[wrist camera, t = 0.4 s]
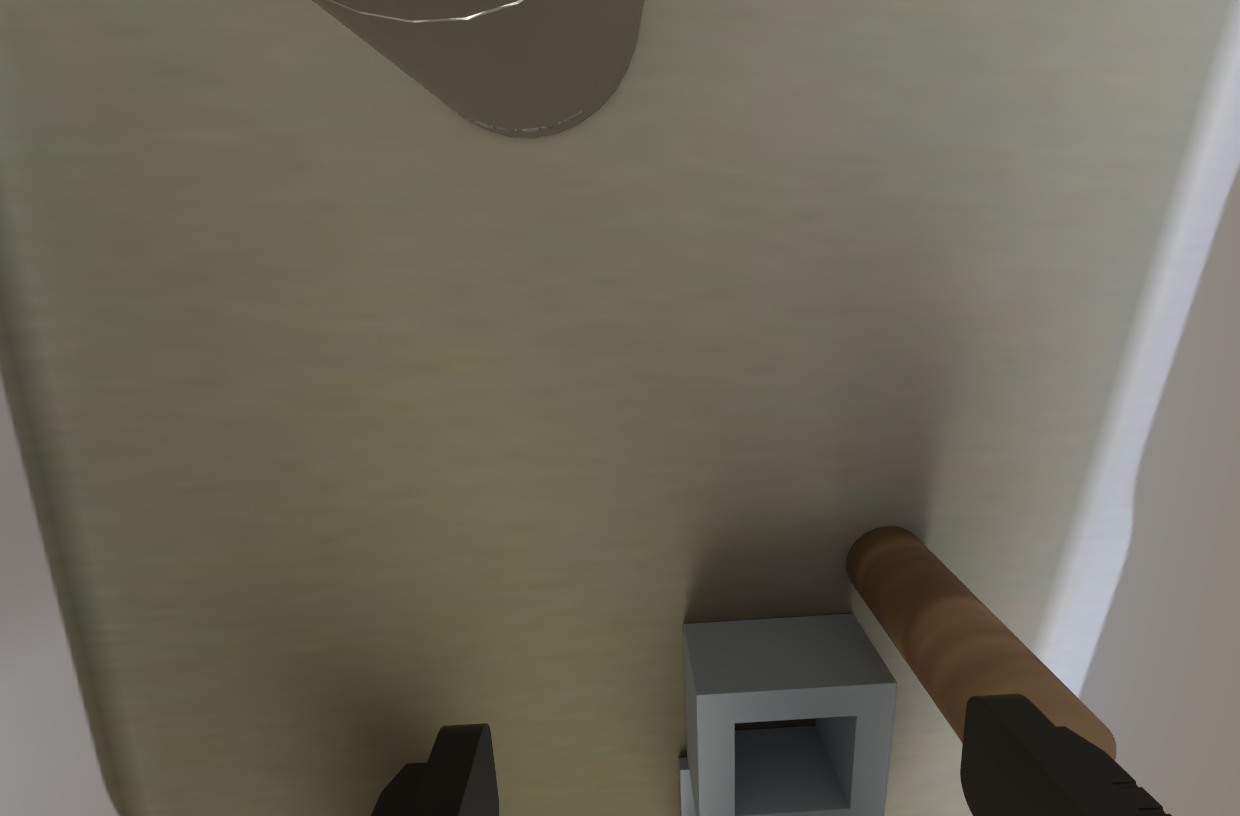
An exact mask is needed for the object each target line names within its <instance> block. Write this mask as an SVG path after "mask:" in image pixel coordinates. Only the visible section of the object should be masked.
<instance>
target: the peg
mask: <svg viewBox="0 0 1240 816" xmlns="http://www.w3.org/2000/svg"><path fill="white" fill-rule="evenodd" d="M846 570H847V574H848V577H849V579H850V581H851V582H852V584H853V585H854V587H855V588H856V590H857V591H858V592H859V594H860V595H861V597H862V598H863V600H864V601H865V603H866V604H867V605H868V607H869V608H870V610H871V611H872V613H873V614H874V616H875V617H876V619H877V620H878V621H879V623H880V624H881V626H882V627H883V629H884V630H885V632H886V633H887V634H888V636H889V637H890V639H891V640H892V642H893V643H894V645H895V646H896V647H897V649H898V650H899V652H900V653H901V655H902V656H903V658H904V659H905V660H906V662H907V663H908V665H909V666H910V668H911V669H912V671H913V672H914V674H915V675H916V676H917V678H918V679H919V681H920V682H921V684H922V685H923V687H924V688H925V689H926V691H927V692H928V694H929V695H930V697H931V698H932V700H933V701H934V702H935V704H936V705H937V707H938V708H939V710H940V711H941V713H942V714H943V715H944V717H945V718H946V720H947V721H948V723H949V724H950V726H951V727H952V729H953V730H954V731H955V733H956V734H957V736H958V737H959V739H960V740H961V742H962V743H963V736H964V724H965V713H966V705H967V702H968V700H969V698H971V697H972V696H983V695H999V694H1021V695H1024V696H1025V697H1027V698H1028V699H1029V700H1030V701H1031V702H1032V703H1033V704H1034V705H1035V706H1036V707H1037V708H1038V709H1039V710H1040V711H1041V712H1042V713H1043V714H1044V715H1045V716H1046V717H1047V718H1048V719H1049V720H1050V721H1051V722H1052V723H1053V724H1054V725H1055V726H1056V727H1060V726H1065V727H1067V728H1069V729H1070V730H1072V731H1073V732H1075V733H1077V734H1078V735H1080V736H1081V737H1083V738H1085V739H1086V740H1088V741H1089V742H1091V743H1093V744H1094V745H1096V746H1097V747H1099V748H1100V749H1102V750H1104V751H1105V752H1106V753H1107V754H1108V755H1109V756H1110V757H1111V758H1112V759H1113V760H1114V761H1115V758H1116V743H1115V739H1114V737H1113V735H1112V733H1111V732H1110V730H1109V729H1108V728H1107V727H1106V726H1105V725H1104V724H1103V723H1102V722H1101V721H1100V720H1099V719H1098V718H1097V717H1096V716H1095V715H1094V714H1093V713H1092V712H1091V711H1090V710H1089V709H1088V708H1087V707H1086V706H1085V705H1084V704H1083V703H1082V702H1081V701H1080V700H1079V699H1078V698H1077V697H1076V696H1075V695H1074V694H1073V693H1072V692H1071V691H1070V690H1069V689H1068V688H1067V687H1066V686H1065V685H1064V684H1063V683H1062V682H1061V681H1060V680H1059V679H1058V678H1057V677H1056V676H1055V675H1054V674H1053V673H1052V672H1051V671H1050V670H1049V669H1048V668H1047V667H1046V666H1045V665H1044V664H1043V663H1042V662H1041V661H1040V660H1039V659H1038V658H1037V657H1036V656H1035V655H1034V654H1033V653H1032V652H1031V651H1030V650H1029V649H1028V648H1027V647H1026V646H1025V645H1024V644H1023V643H1022V642H1021V641H1020V640H1019V639H1018V638H1017V637H1016V636H1015V635H1014V634H1013V633H1012V632H1011V631H1010V630H1009V629H1008V628H1007V627H1006V626H1005V625H1004V624H1003V623H1002V622H1001V621H1000V620H999V619H998V618H997V617H996V616H995V615H994V614H993V613H992V612H991V611H990V610H989V609H988V608H987V607H986V606H985V605H984V604H983V603H982V602H981V601H980V600H979V599H978V598H977V597H976V596H975V595H974V594H973V593H972V592H971V591H970V590H969V589H968V588H967V587H966V586H965V585H964V584H963V583H962V582H961V581H960V580H959V579H958V578H957V577H956V576H955V575H954V574H953V573H952V572H951V571H950V570H949V569H948V568H947V567H946V566H945V565H944V564H943V563H942V562H941V561H940V560H939V559H938V558H937V557H936V556H935V555H934V554H933V553H932V552H931V551H930V550H929V549H928V548H927V547H926V546H925V545H924V544H923V543H922V542H921V541H920V540H919V539H918V538H917V537H916V536H915V535H914V534H912V533H911V532H909V531H907V530H905V529H903V528H899V527H882V528H878V529H875V530H872V531H870V532H868V533H866V534H865V535H863V536H862V537H861V538H860V539H858V540H857V541H856V542H855V544H854V545H853V546H852V548H851V550H850V552H849V554H848V557H847V561H846Z"/></svg>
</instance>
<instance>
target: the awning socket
mask: <svg viewBox="0 0 1240 816" xmlns="http://www.w3.org/2000/svg"><path fill="white" fill-rule="evenodd" d="M683 640H684V672H685V704H686V736H687V757H684V758H678V759H679V786H680V813H681V816H884V814H885V803H886V793H887V782H888V772H889V761H890V751H891V740H892V730H893V719H894V709H895V699H896V688H897V682H896V680H895V679H894V677H893V676H892V674H891V673H890V671H889V669H888V668H887V666H886V665H885V663H884V662H883V660H882V659H881V657H880V655H879V654H878V652H877V651H876V649H875V648H874V646H873V644H872V643H871V641H870V640H869V638H868V637H867V635H866V633H865V632H864V630H863V629H862V627H861V626H860V624H859V622H858V621H857V619H856V618H855V616H854V615H853V613H851V614H835V615H819V616H803V617H787V618H770V619H754V620H738V621H722V622H706V623H690V624H683ZM812 718H816V723H815V726H801V727H786V728H770V729H754V730H738V731H735V723H748V722H764V721H780V720H796V719H812Z"/></svg>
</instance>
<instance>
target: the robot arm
mask: <svg viewBox="0 0 1240 816" xmlns="http://www.w3.org/2000/svg"><path fill="white" fill-rule="evenodd" d="M312 1H314V2H315V3H316V4H318V5H319V6H320V7H321V8H323V9H324V10H325V11H327V12H328V13H329V14H330V15H332V16H333V17H334V18H336V19H337V20H338V21H340V22H341V23H342V24H343V25H345V26H346V27H347V28H349V29H350V30H351V31H352V32H354V33H355V34H356V35H358V36H359V37H360V38H361V39H363V40H364V41H365V42H367V43H368V44H369V45H370V46H372V47H373V48H374V49H376V50H377V51H378V52H379V53H381V54H382V55H383V56H385V57H386V58H387V59H388V60H390V61H391V62H392V63H394V64H395V65H396V66H398V67H399V68H400V69H401V70H403V71H404V72H405V73H407V74H408V75H409V76H410V77H412V78H413V79H414V80H416V81H417V82H418V83H419V84H421V85H422V86H423V87H424V88H426V89H427V90H428V91H430V92H431V93H432V94H434V95H435V96H436V97H438V98H439V99H440V100H441V101H443V102H444V103H445V104H447V105H448V106H449V107H450V108H452V109H453V110H454V111H456V112H457V113H458V114H459V115H461V116H462V117H463V118H465V119H467V120H469V121H471V122H472V123H474V124H476V125H478V126H480V127H482V128H484V129H485V130H488V131H492V132H495V133H499V134H502V135H506V136H509V137H527V138H535V137H541V136H547V135H552V134H557V133H560V132H562V131H564V130H567V129H569V128H571V127H574V126H576V125H578V124H580V123H581V122H583V121H584V120H585V119H587V118H588V117H589V116H591V115H592V114H593V113H595V112H596V111H598V110H599V109H600V108H601V106H602V105H603V104H604V103H605V102H606V101H607V100H608V98H609V97H610V96H611V95H612V94H613V93H614V92H615V90H616V89H617V87H618V85H619V83H620V82H621V80H622V78H623V76H624V75H625V73H626V71H627V69H628V67H629V64H630V61H631V58H632V55H633V52H634V49H635V46H636V43H637V38H638V32H639V26H640V20H641V14H642V8H643V3H644V0H312ZM960 775H961V784H962V788H963V792H964V796H965V799H966V801H967V804H968V806H969V808H970V811H971V812H972V814H973V816H1171V815H1170V814H1166V813H1165V812H1164V811H1163V807H1162V806H1161V805H1160V804H1159V803H1158V802H1157V801H1156V800H1155V799H1154V798H1153V797H1152V796H1151V795H1150V794H1149V793H1147V792H1146V791H1145V790H1144V789H1143V788H1142V787H1138V786H1137V785H1136V781H1135V780H1134V779H1133V778H1132V777H1131V776H1130V775H1129V774H1128V773H1127V772H1126V771H1125V770H1123V769H1122V767H1120V766H1119V765H1118V764H1117V763H1116V762H1115V761H1114V760H1113V759H1112V758H1111V757H1110V756H1109V755H1108V754H1107V753H1106V752H1105V751H1104V750H1102V749H1100V748H1099V747H1097V746H1096V745H1094V744H1093V743H1091V742H1089V741H1088V740H1086V739H1085V738H1083V737H1081V736H1080V735H1078V734H1077V733H1075V732H1073V731H1072V730H1070V729H1069V728H1067V727H1065V726H1060V727H1056V726H1055V725H1054V724H1053V723H1052V722H1051V721H1050V720H1049V719H1048V718H1047V717H1046V716H1045V715H1044V714H1043V713H1042V712H1041V711H1040V710H1039V709H1038V708H1037V707H1036V706H1035V705H1034V704H1033V703H1032V702H1031V701H1030V700H1029V699H1028V698H1027V697H1025V696H1024V695H1021V694H999V695H983V696H972V697H971V698H969V700H968V702H967V705H966V713H965V724H964V736H963V747H962V759H961V772H960ZM371 816H499V798H498V789H497V781H496V772H495V764H494V756H493V747H492V739H491V732H490V727H489V725H488V724H487V723H485V724H469V725H452V726H443V727H442V728H441V729H440V731H439V733H438V735H437V738H436V740H435V743H434V746H433V749H432V751H431V754H430V757H429V759H428V762H427V763H413V764H406V765H405V766H404V767H403V768H402V770H401V771H400V772H399V773H398V774H397V775H396V776H395V777H394V779H393V780H392V781H391V782H390V783H389V784H388V785H387V786H386V788H385V789H384V790H383V791H382V792H381V794H380V797H379V799H378V801H377V803H376V806H375V808H374V810H373V812H372V815H371Z"/></svg>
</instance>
